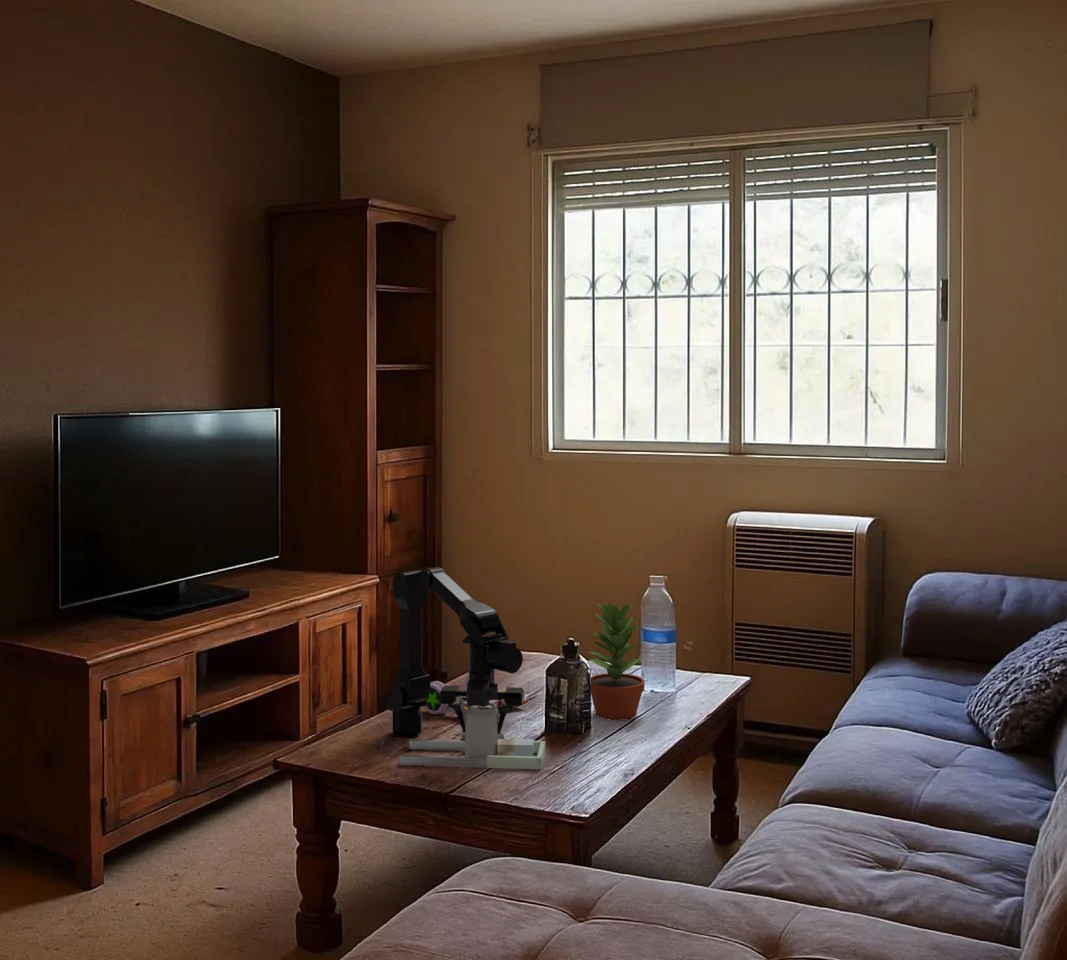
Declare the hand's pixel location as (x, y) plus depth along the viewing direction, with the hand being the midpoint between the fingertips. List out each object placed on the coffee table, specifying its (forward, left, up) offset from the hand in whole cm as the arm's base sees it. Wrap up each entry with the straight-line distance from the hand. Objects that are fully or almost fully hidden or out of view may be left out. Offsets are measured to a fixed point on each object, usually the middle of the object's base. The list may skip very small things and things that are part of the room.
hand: (481, 732), depth 267 cm
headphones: (-7, +38, -7) cm, 39 cm away
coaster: (-2, +14, -6) cm, 15 cm away
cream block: (+6, 0, -6) cm, 8 cm away
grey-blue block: (+10, 0, -6) cm, 11 cm away
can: (0, 0, -6) cm, 6 cm away
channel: (-8, 0, -6) cm, 10 cm away
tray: (+7, 0, -6) cm, 10 cm away
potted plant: (+29, +37, -6) cm, 48 cm away
